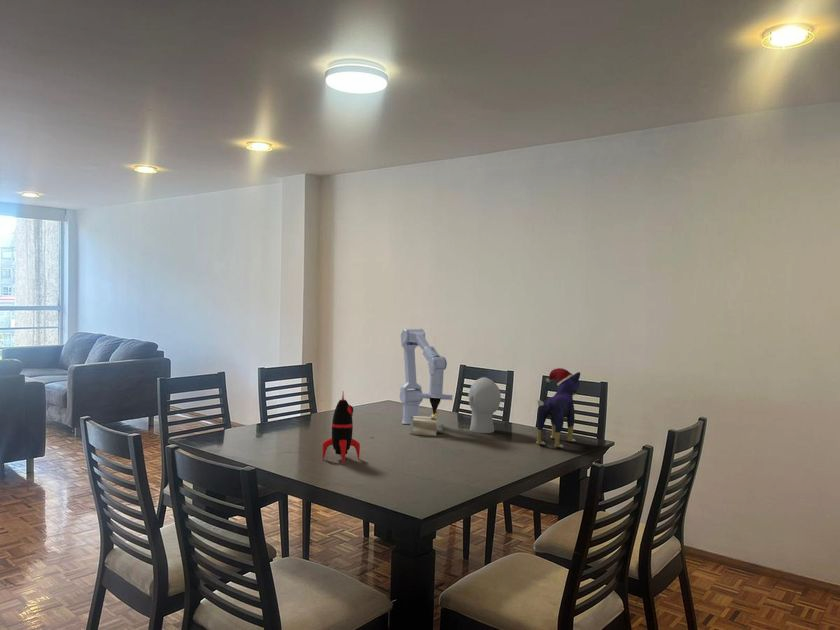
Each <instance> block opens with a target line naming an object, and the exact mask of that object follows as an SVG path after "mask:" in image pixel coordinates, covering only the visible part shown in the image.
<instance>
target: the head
mask: <svg viewBox="0 0 840 630" xmlns="http://www.w3.org/2000/svg"><path fill="white" fill-rule="evenodd" d="M501 395H502V393H501V391H500V388H499V386H498V385H497V384H496V383H495V382H494V381H493V380H492V379H490V378H488V377H485V376H484V377H480V378H478V379H476V380H474V382H473V383H472V384H471V386H470V388H469V392H468V395H467V396H468V403H469V407H470V409H471V421H470V427H469V431H470V432H473V433H476V434H492V433H494V432H495V427H494V420H493V417H494V413H496V412H497V411H498V409H499V407H500V404H501V402H502V397H501Z"/></svg>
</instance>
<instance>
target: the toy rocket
mask: <svg viewBox="0 0 840 630" xmlns="http://www.w3.org/2000/svg"><path fill="white" fill-rule="evenodd" d="M341 396H342V397H341V399H339V400H338V401H337V404H336V406H335V409H334V412H333V417H332V422H331V437H330V438H328V439H326V440H324V441H323V443H322V460H325V455H326V452H327V449H328V448H329V447H330V446H332V447H333V448H332V449H333V450H334V451H335V455H341V460H342V464H345V461H346V455H347V454H348V451H349V450H350V449H351V446H352V447H354V448H355V449H354V450H355V451H356V456H357V460H360V452H361V451H360V449H361V444H360V442H359V441H358V440H356V439H354V438H353V429H354V428H353V427H354V425H353V422H354V421H353V415H354V407H353V406H352V405H351V404H349V403H348V401H347V399H345V397H344V396H345V395H344V392H342V395H341Z"/></svg>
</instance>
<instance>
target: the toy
mask: <svg viewBox="0 0 840 630" xmlns="http://www.w3.org/2000/svg"><path fill="white" fill-rule="evenodd" d="M580 377H581V372H580V371H578V372H576V373H575V374H573V373H572V372H570V371H569V370H567V369H565V368H563V367H562V368H561V367H560V368H559V367H557V368H554V369H552V370H551V371H550V372H549V375H548V377H546V380H545V381H546V382H547V383H550V382H551V380H555V381H556V386H557V387H558V388H557V391H556V393H555V394H554V395H553V396H551V397H549V398H547V399H545V400H543V401H542V400H541V399H537V400H536V401H537V406H538V407H537V412H536V423H537V424H536V425H537V427H536V444H537V445H540V446H541V445H542V446H543V445H544V446H545V445H546V442H544V441H542V432H543V428H544V426H545V423H546V420H547V418H548V417H549V419H550V424H551V435H550V439H554V448H559V449H560V448H562V449H563V448H564V445H563V444H562V443H561V444H560V436H561V432H562V430H563V428H564V421H565V419H566V423H567V439H566V441H568V442H574V443H575V442H576V439H575V438H573V434H574V427H575V404H574V398H573V397H574V396H575V395H577V393H578V389H579V387H580Z"/></svg>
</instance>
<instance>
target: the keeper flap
mask: <svg viewBox="0 0 840 630" xmlns="http://www.w3.org/2000/svg"><path fill="white" fill-rule="evenodd" d="M438 410H439V409H437V410H436V413H435V414H434V415H433V413H432V414H430V416H431V420H433V418H434V417H437V416H438V415H439V411H438Z"/></svg>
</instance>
